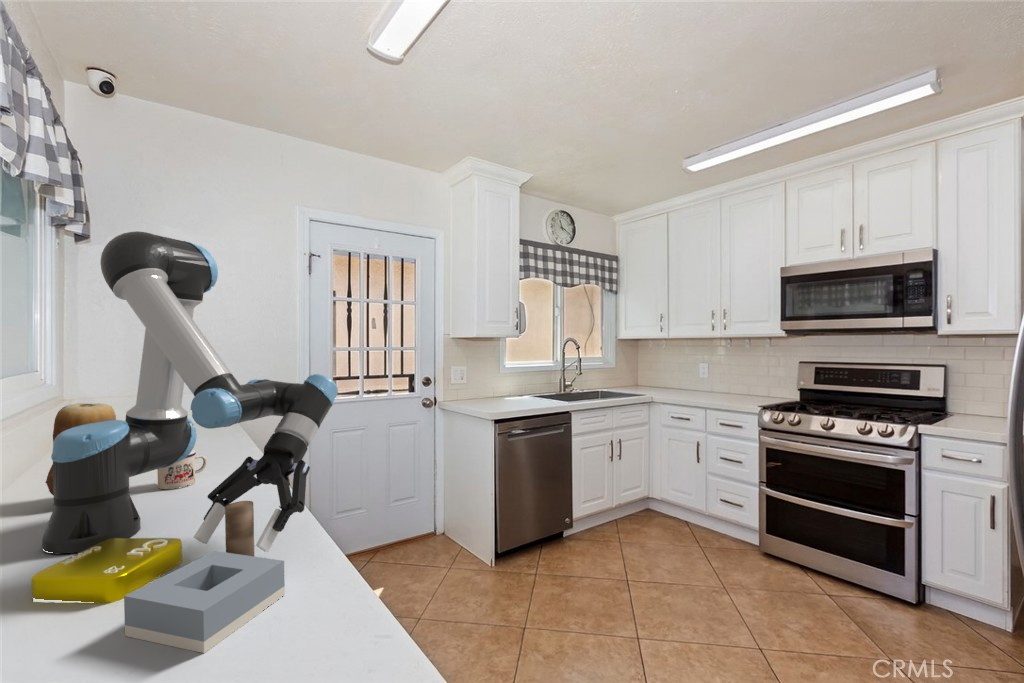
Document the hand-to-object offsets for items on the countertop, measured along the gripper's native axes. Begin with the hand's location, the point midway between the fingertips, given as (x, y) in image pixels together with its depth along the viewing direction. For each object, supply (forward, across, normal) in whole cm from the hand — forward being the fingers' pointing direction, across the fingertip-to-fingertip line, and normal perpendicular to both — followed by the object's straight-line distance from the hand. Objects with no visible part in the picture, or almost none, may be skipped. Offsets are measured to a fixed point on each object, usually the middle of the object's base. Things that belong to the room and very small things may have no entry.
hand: (230, 544), depth 81 cm
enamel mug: (-23, +57, -30) cm, 68 cm away
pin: (+2, 0, -5) cm, 5 cm away
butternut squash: (-11, +69, -18) cm, 72 cm away
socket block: (+11, -8, +4) cm, 14 cm away
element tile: (+9, +18, +1) cm, 20 cm away
